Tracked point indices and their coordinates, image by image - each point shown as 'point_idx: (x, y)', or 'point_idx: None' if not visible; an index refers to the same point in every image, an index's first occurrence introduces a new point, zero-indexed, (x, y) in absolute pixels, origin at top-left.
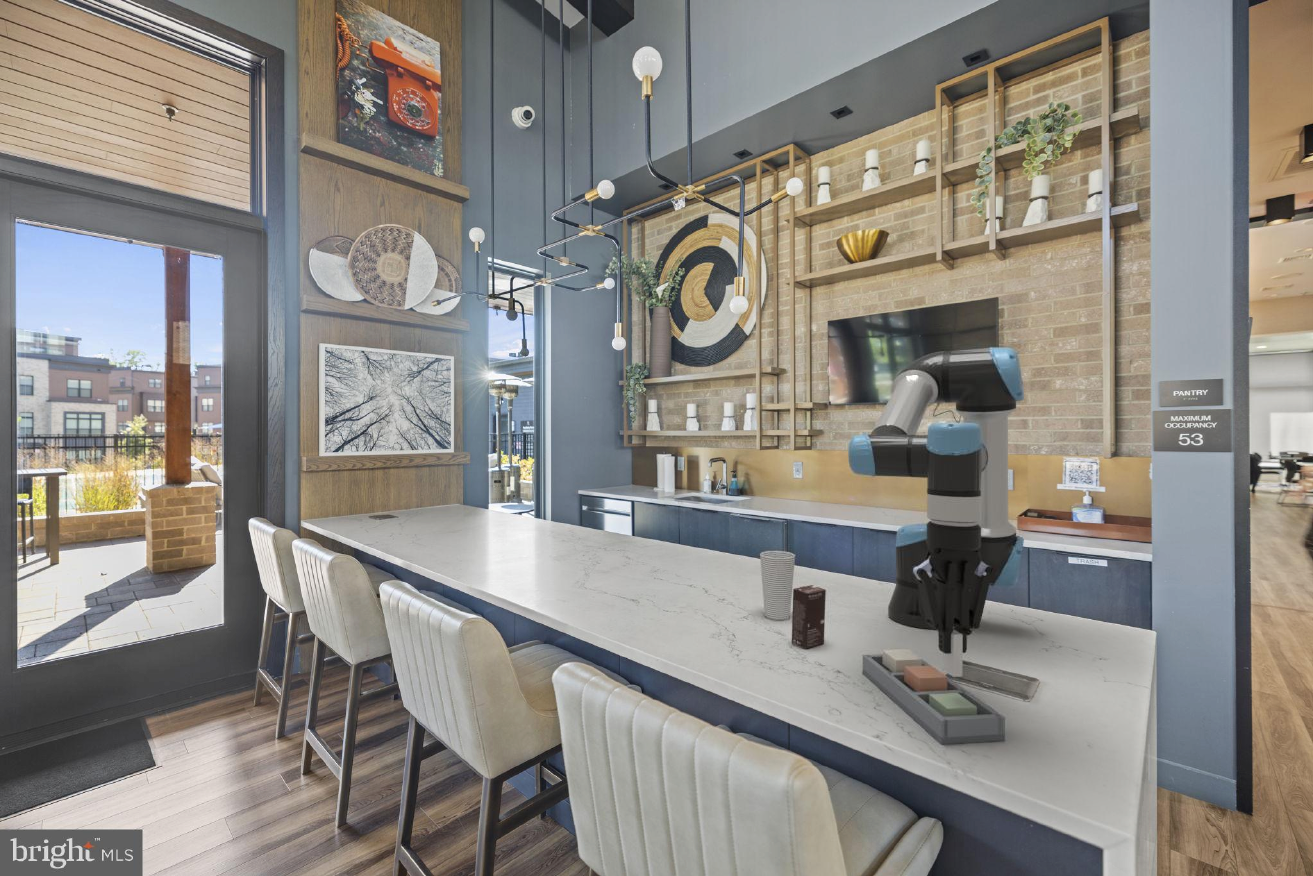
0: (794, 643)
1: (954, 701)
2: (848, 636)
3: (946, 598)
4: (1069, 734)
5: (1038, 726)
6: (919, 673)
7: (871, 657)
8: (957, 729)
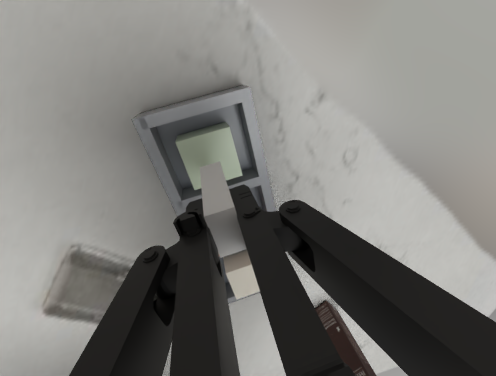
0: (334, 308)
1: (208, 156)
2: (267, 343)
3: (311, 308)
4: (23, 154)
5: (73, 171)
6: None
7: None
8: (219, 93)
